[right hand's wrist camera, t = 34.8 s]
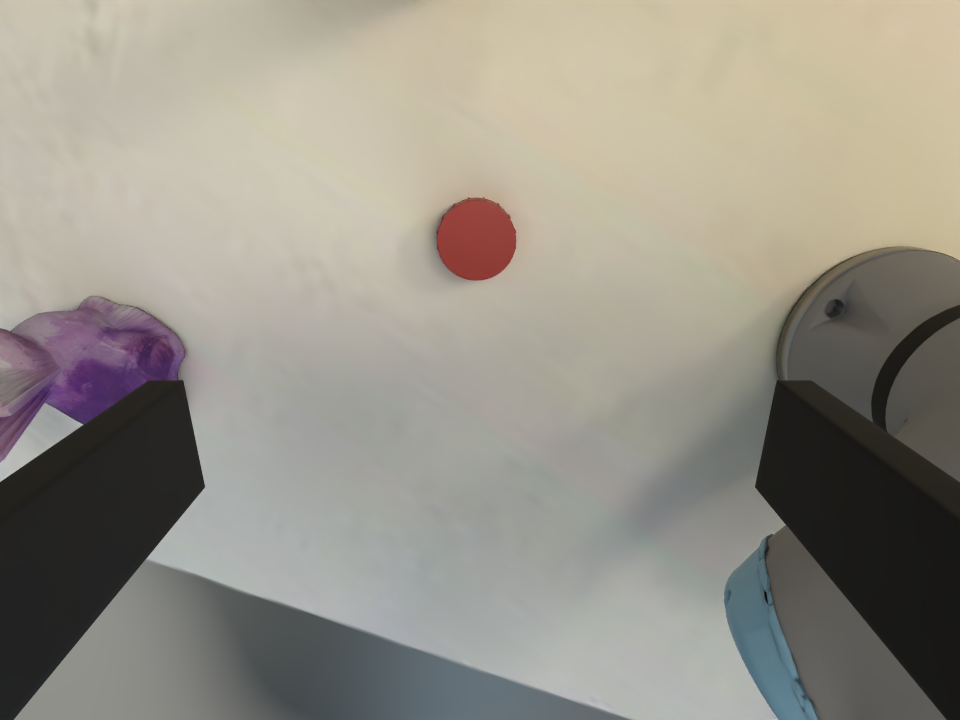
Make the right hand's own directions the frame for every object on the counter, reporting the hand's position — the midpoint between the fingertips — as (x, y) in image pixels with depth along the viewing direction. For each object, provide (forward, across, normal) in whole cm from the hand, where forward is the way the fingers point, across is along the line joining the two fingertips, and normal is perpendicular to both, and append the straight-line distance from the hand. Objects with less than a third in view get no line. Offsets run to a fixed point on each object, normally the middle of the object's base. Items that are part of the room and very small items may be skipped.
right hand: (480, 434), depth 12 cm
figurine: (+30, +28, +9) cm, 42 cm away
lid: (+28, 0, 0) cm, 28 cm away
